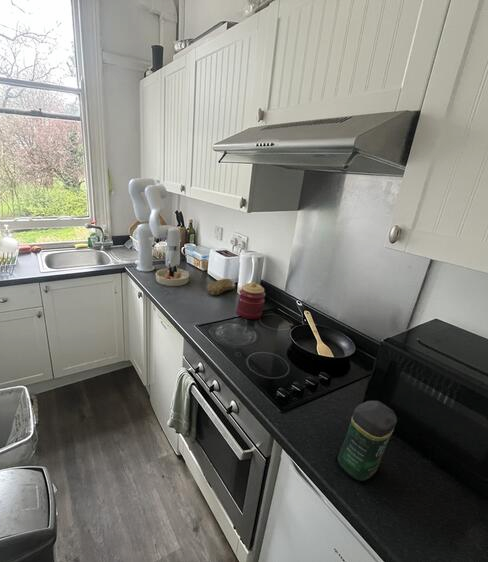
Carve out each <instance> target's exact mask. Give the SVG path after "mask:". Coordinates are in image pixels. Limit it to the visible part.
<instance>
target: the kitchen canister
mask: <svg viewBox="0 0 488 562" xmlns="http://www.w3.org/2000/svg"><path fill="white" fill-rule="evenodd" d="M238 292H239V296H238V302H237V308H236V311H237V315H239V316H240V317H241V318H243V319H247V320H258V319H260V318H262V317H263V316H262V315H263V313H264V304H265V297H266V292H265V288H264V287H263V286H262V285H260V284H258V283H257V282H255V281H251V282H248V283H245V284H243V285H241V288H240V289H239V291H238Z"/></svg>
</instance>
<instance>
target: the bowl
mask: <svg viewBox="0 0 488 562" xmlns="http://www.w3.org/2000/svg"><path fill="white" fill-rule="evenodd" d="M167 270H169V269H167V268H161V269H159V270H157V271H156V272H155V281H156V282H157V284H160V285H162V286H167V287H180V286H181V287H182V286H184V285H186V284H188V283H189V282H190V272H189V271H187V270H184V269H181V268H178V269H177V272H178V273H181V277H180V278H175V277H170V276H169V277H170V278H171V279H166V277H168V276H167V275H165V271H167Z"/></svg>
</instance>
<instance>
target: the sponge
mask: <svg viewBox="0 0 488 562" xmlns="http://www.w3.org/2000/svg"><path fill="white" fill-rule="evenodd" d="M235 288H236V283H235V282H234V281H233V280H232V279H229V278H222V279H217V280H214V281H212V282H209V283H208V284H207V286H206V289H207V292H208V293H209V295H212V296H219V295H221V294H223V293H224V292H226V291H232V290H234V289H235Z"/></svg>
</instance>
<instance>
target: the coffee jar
mask: <svg viewBox="0 0 488 562" xmlns="http://www.w3.org/2000/svg"><path fill="white" fill-rule="evenodd" d="M397 422H398V417H397V415H396V413H395V411H394V410H393V409H391V408H390V407H388V405H386V404H384V403H383V402H381V401H379V400H367V401H364V402H362V403H360V404H358V405H357V406H356V407H355V408H354V410H353V412H352V414H351V420H350V424H349V426H348V429H347V432H346V435H345V438H344V439H343V440H344V441H343V443H342V445H341V447H340V450H339V454H338V456H337V462H338V465H339V466H340V467H341V469H342V470H344V472H346V474H348V475H349V476H350V477H352V478H353V479H354V480H357V481H359V482H361V481H362V482H364V481H367V480H368V479H370V478H372V477H373V476H374V475H375V474H376V473H377V471H378V470H379V466H380V464H381V461H382V458H383V456H384V452H385V450H386V447H387V446H388V444H389V443H388V442H389V440H390V438H391V436H392V434H393V432H394V431H395V427H396V424H397Z"/></svg>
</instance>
